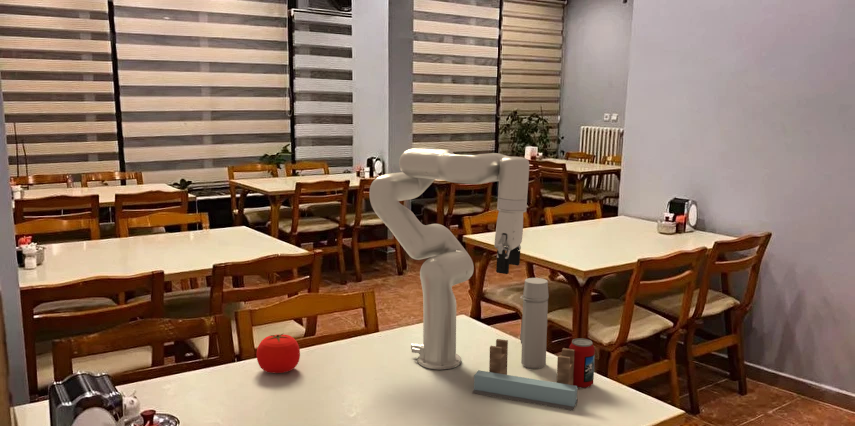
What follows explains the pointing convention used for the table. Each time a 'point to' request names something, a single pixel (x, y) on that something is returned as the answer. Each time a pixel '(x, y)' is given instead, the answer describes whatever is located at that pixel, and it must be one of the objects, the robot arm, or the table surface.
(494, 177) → the robot arm
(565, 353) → the post
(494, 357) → the post
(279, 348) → the tomato
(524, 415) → the table surface
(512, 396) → the mat
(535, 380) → the rail
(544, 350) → the water bottle
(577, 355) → the beverage can
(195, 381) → the table surface
